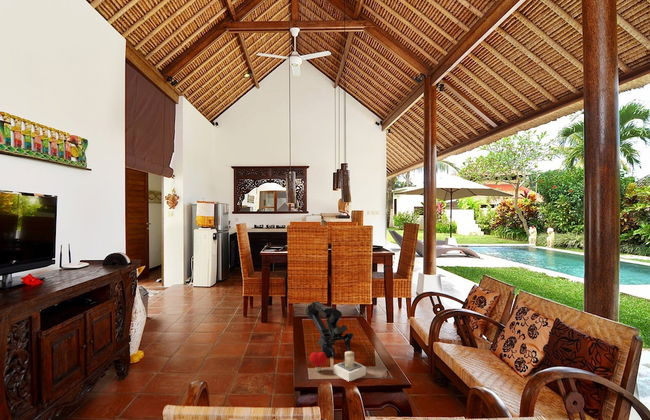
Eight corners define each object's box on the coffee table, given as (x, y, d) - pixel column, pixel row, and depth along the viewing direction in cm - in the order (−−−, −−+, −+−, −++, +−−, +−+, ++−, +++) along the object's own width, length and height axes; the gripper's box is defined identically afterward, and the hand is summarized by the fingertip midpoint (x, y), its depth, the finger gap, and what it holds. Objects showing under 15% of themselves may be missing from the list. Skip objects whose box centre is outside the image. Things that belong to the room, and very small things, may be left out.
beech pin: (343, 372, 178) (343, 351, 179) (352, 371, 180) (352, 350, 180) (346, 376, 174) (346, 355, 174) (355, 375, 175) (355, 354, 175)
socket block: (333, 373, 178) (333, 364, 178) (350, 367, 185) (350, 358, 185) (348, 381, 168) (348, 372, 168) (365, 374, 176) (365, 365, 176)
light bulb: (326, 368, 184) (326, 349, 184) (327, 374, 177) (327, 354, 177) (309, 368, 183) (309, 350, 184) (309, 374, 176) (309, 355, 177)
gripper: (323, 322, 185) (332, 349, 175) (352, 318, 193) (362, 343, 183) (317, 332, 192) (325, 359, 181) (345, 328, 200) (355, 353, 190)
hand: (342, 353), depth 184 cm, fingers open, 9 cm apart
